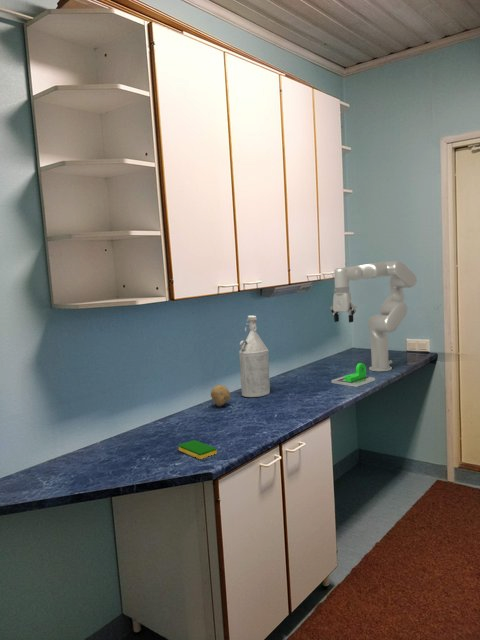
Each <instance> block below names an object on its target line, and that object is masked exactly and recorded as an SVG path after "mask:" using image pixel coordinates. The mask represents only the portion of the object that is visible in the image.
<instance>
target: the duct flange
mask: <svg viewBox="0 0 480 640" xmlns="http://www.w3.org/2000/svg"><path fill="white" fill-rule="evenodd" d="M344 376H345V375H343V376H339V377H337V378H334V379H331V384H336V385H342V386H350V387H356V388H357V387H360V386H363V385H366V384H369V383H372V382H375V381H376V377H373V376H372V377H371V376H367V375H366V377H365V378H362V379H359V380H356V381H352V382H349V381H345V379H344Z"/></svg>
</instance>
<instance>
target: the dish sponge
mask: <svg viewBox="0 0 480 640" xmlns="http://www.w3.org/2000/svg"><path fill="white" fill-rule="evenodd" d="M178 451H179V452H181V453H184V454H186V455H188V456H191V457H193V458H195V457H196V459H198V460H204V459H206V458H209V457H212V456H215V455H217V454H218V453H217V448H216V447H215V446H211V445H209V444H206V443H203V442H201V441H198V440H195V439H193V440H189V441H187V442H184V443H181V444H178ZM214 454H215V455H214ZM211 455H212V456H211ZM208 456H209V457H208ZM203 458H204V459H203Z"/></svg>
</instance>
